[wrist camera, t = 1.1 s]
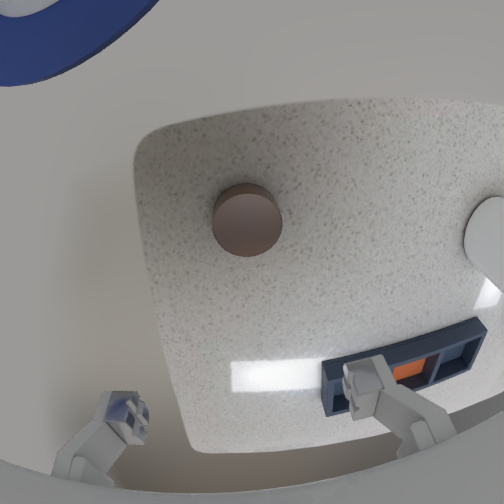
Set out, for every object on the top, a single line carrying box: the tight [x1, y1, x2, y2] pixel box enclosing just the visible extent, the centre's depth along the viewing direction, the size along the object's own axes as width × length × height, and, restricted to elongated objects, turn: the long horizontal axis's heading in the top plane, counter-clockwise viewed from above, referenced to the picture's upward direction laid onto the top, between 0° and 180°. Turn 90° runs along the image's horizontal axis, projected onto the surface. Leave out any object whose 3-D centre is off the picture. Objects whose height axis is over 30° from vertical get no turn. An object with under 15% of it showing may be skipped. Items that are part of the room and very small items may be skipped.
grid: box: [321, 317, 488, 417], centre depth 34 cm, size 8×23×3 cm, turn 99°
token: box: [213, 183, 282, 257], centre depth 24 cm, size 5×5×2 cm
